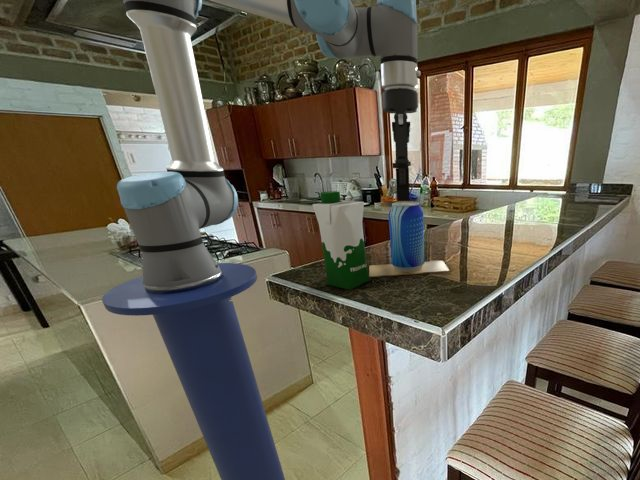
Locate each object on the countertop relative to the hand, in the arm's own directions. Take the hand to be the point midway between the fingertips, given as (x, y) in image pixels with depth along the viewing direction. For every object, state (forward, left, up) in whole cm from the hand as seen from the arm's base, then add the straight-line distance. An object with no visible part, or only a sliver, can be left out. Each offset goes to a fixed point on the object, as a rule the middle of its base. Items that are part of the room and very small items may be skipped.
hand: (403, 197), depth 79 cm
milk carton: (-10, -13, -18) cm, 24 cm away
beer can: (0, 0, -18) cm, 18 cm away
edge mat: (0, 0, -18) cm, 18 cm away
